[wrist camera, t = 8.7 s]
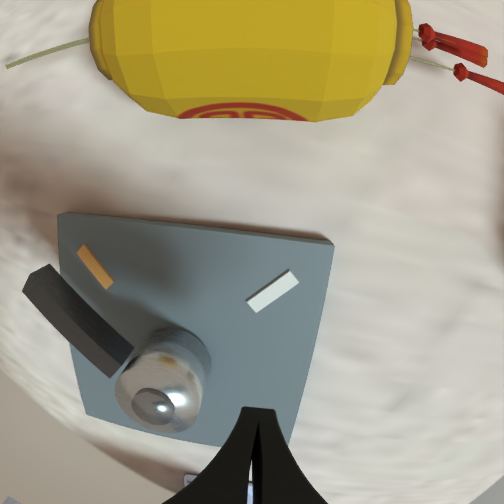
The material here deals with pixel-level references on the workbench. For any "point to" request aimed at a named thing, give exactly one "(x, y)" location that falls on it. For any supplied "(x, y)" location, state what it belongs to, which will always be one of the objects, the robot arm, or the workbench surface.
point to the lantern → (261, 55)
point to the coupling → (118, 349)
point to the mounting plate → (201, 309)
